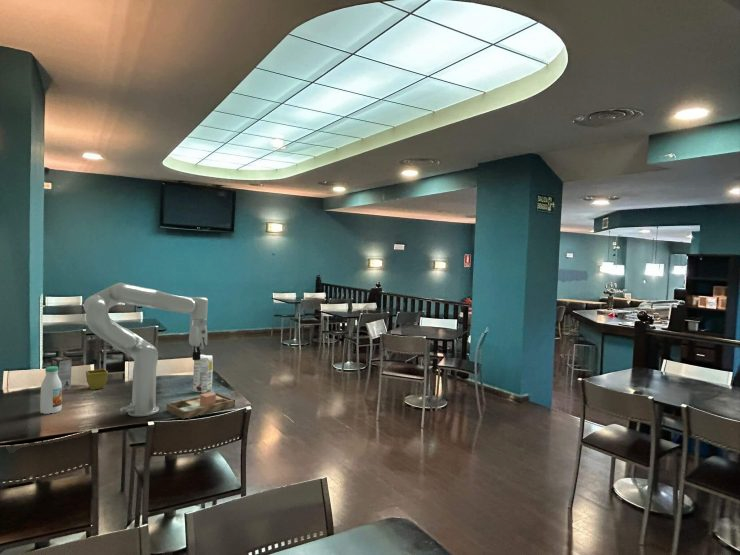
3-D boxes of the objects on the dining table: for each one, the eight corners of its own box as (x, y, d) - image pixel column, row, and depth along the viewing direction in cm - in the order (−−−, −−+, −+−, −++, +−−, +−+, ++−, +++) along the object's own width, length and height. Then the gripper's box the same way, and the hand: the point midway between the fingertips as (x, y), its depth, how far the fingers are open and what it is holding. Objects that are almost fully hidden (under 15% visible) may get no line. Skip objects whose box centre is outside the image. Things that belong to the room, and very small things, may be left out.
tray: (183, 419, 194) (184, 412, 194) (166, 410, 205) (166, 403, 204) (235, 406, 215) (235, 399, 215) (216, 398, 225) (216, 392, 225)
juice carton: (205, 393, 232) (206, 357, 232) (191, 392, 234) (192, 356, 234) (213, 389, 240) (214, 355, 239) (199, 388, 242) (200, 353, 241)
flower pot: (85, 387, 234) (85, 370, 234) (104, 384, 240) (104, 368, 240) (88, 391, 228) (88, 374, 228) (107, 388, 234) (108, 371, 233)
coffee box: (49, 388, 231) (50, 357, 230) (63, 385, 236) (64, 355, 235) (57, 391, 226) (58, 360, 225) (71, 388, 231) (72, 358, 231)
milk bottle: (44, 415, 192) (45, 370, 191) (37, 411, 196) (37, 367, 195) (64, 411, 199) (65, 367, 198) (56, 407, 203) (57, 364, 202)
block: (205, 407, 204) (206, 396, 204) (199, 405, 207) (200, 394, 207) (215, 405, 208) (215, 394, 208) (209, 402, 211) (209, 392, 211)
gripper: (213, 324, 213) (211, 361, 213) (198, 320, 223) (196, 356, 223) (198, 324, 207) (196, 363, 208) (183, 320, 217) (181, 357, 217)
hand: (196, 359), depth 215 cm, fingers closed
